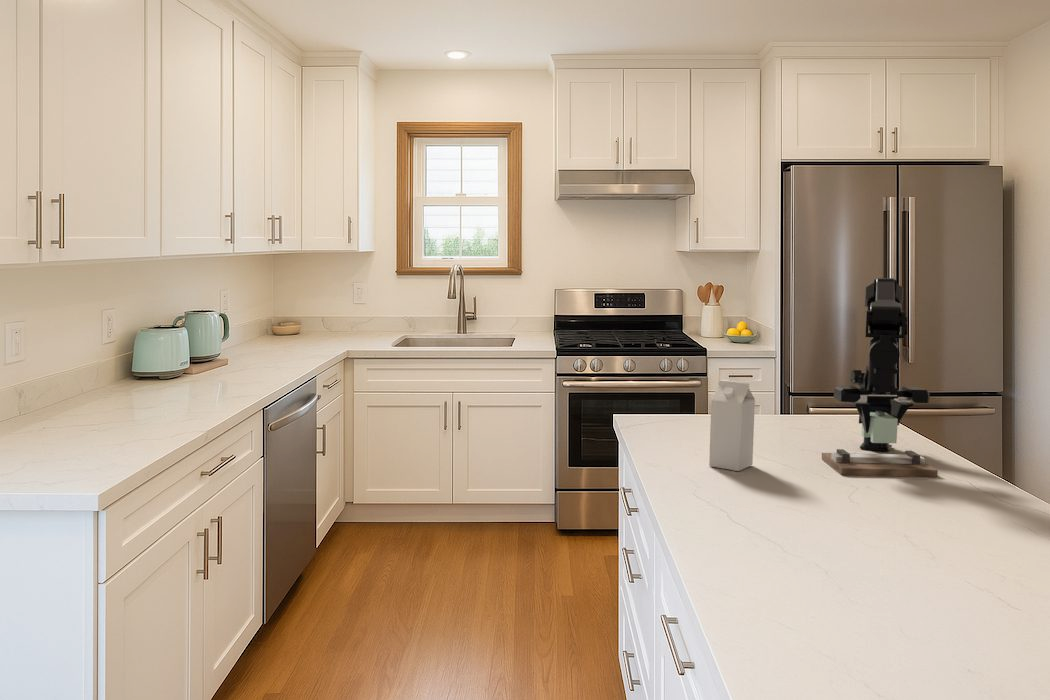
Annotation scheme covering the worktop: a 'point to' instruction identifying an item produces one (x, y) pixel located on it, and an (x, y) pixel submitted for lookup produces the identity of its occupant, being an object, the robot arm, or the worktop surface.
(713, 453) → the milk carton
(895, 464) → the rail board
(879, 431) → the block
